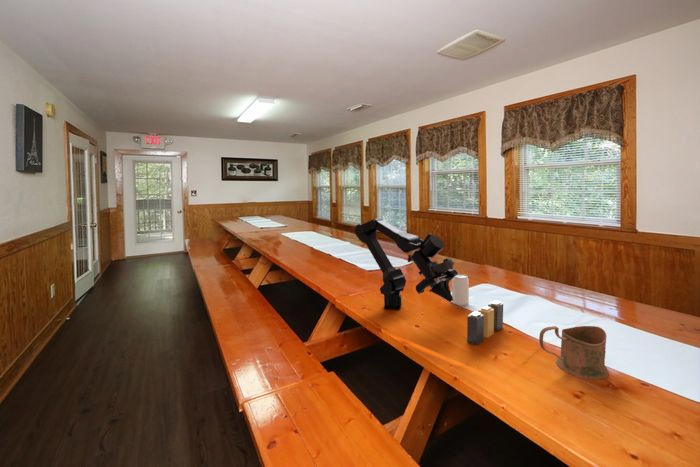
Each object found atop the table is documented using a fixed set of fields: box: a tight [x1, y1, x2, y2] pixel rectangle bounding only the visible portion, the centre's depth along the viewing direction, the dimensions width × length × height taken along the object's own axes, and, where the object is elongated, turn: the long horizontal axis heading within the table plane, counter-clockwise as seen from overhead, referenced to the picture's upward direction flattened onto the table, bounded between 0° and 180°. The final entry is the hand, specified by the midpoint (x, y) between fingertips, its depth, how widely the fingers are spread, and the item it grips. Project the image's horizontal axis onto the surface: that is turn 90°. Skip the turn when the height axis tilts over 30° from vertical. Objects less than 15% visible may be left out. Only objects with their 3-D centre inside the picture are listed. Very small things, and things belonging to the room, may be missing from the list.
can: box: [451, 273, 470, 306], centre depth 137 cm, size 6×6×12 cm
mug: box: [538, 325, 609, 381], centre depth 89 cm, size 12×18×12 cm, turn 95°
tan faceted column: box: [477, 305, 495, 339], centre depth 108 cm, size 3×4×9 cm
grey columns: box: [466, 300, 504, 346], centre depth 112 cm, size 18×19×10 cm
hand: (451, 301), depth 117 cm, fingers closed
